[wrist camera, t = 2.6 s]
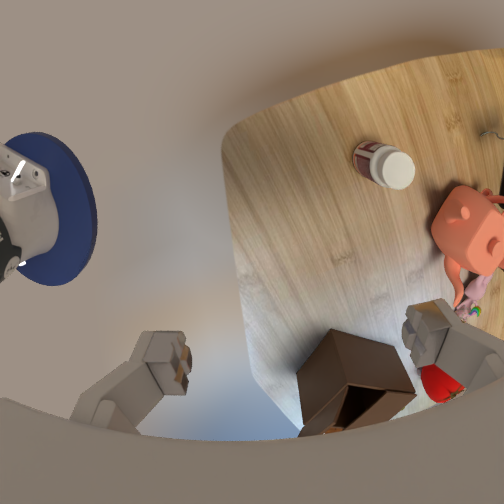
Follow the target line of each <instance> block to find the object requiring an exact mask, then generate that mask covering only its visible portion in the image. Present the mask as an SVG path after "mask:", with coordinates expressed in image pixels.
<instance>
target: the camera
mask: <svg viewBox="0 0 504 504" xmlns="http://www.w3.org/2000/svg"><path fill="white" fill-rule="evenodd" d="M499 195H500V196H504V168H503V175H502V182H501V188H500V193H499ZM498 204H499V205H500V207H501V208H503V209H504V203H498Z"/></svg>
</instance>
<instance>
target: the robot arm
mask: <svg viewBox="0 0 504 504" xmlns="http://www.w3.org/2000/svg"><path fill="white" fill-rule="evenodd" d="M37 172H38V174H37ZM58 231H59V218H58V212H57V207H56V204H55V201H54V198H53V196H52V193H51V189H50V176H49V172H48V170H47V169H46V168H45V167H43V166H41V165H39V164H38V163H36V162H34V161H32V160H30V159H29V158H27V157H25V156H23V155H22V154H20V153H18V152H16V151H15V150H13V149H11V148H9V147H7V146H6V145H4V144H2V143H0V283H1V282H2V281H3V280H4V279H5V278H7V277H8V276H9V275H11V274H12V272H13V271H14V270H15V269H16V268H17V267H18V266H19V265H24V264H25V263H26V262H25V261H26V260H28V259H30V258H32V257H34V256H36V255H39V254H43V253H46V252H48V251H49V250H50V249H51V248H52V247H53V246H54V244H55V242H56V239H57V236H58ZM405 315H406V316H407V318H408V319H407V320H406V321H405V322H404V323H403V327H402V339H403V343H404V345H405V347H406V348H408V349H409V350H411V354H410V357H411V359H412V361H413V363H414V365H415V367H416V368H419V367H423V366H427V365H431V364H435V365H436V366H438V367H439V368H440V369H442V370H443V371H444V372H445V373H447V374H448V375H449V376H451V377H452V378H453V379H455V380H456V381H457V382H459V383H460V384H461V385H463V386H464V387H465V388H467V390H466V391H465V393H464V394H463V396H461V397H458V398H456V399H453V400H451V401H449V402H446V403H443V404H440V405H438V406H435V407H432V408H429V409H426V410H423V411H420V412H417V413H414V414H411V415H407V416H404V417H400V418H397V419H393V420H390V421H386V422H382V423H378V424H374V425H369V426H365V427H360V428H355V429H350V430H345V431H340V432H334V433H328V434H321V435H314V436H306V437H298V438H289V439H276V440H259V441H199V440H184V439H172V438H162V437H153V436H146V435H141V434H140V432H138V430H137V429H136V428H135V427H136V426H137V425H138V424H139V423H140V422H141V421H142V420H143V419H144V418H145V417H146V416H147V414H148V413H149V412H150V411H151V410H152V409H153V408H154V407H155V406H156V405H157V403H158V402H159V401H160V400H161V399H162V398H163V397H164V395H186V392H187V387H188V383H189V381H188V379H187V375H188V374H189V373H190V372H191V369H192V355H191V351H190V348H189V347H188V346H186V345H185V341H186V337H185V335H184V333H183V332H182V331H143V332H142V333H141V335H140V337H139V339H138V342H137V344H136V346H135V348H134V351H133V353H132V355H131V357H130V360H129V362H124V363H123V364H121V365H120V366H119V367H117V368H116V369H114V370H113V371H112V372H111V373H109V374H108V375H106V376H105V377H104V378H103V379H101V380H100V381H98V382H97V383H96V384H94V385H93V386H92V387H90V388H89V389H88V390H86V391H85V392H84V393H82V394H81V395H80V398H79V399H78V402H77V404H76V406H75V408H74V410H73V413H72V415H71V417H70V419H69V420H68V419H64V418H61V417H58V416H55V415H52V414H48V413H45V412H42V411H40V410H37V409H34V408H31V407H28V406H26V405H23V404H20V403H18V402H16V401H13V400H11V399H8V398H0V504H504V341H503V340H501V339H499V338H497V337H495V336H493V335H491V334H488V333H486V332H484V331H482V330H480V329H478V328H476V327H474V326H472V325H470V324H468V323H462V321H461V320H460V319H459V317H458V316H457V315H456V314H455V312H454V311H453V310H452V308H451V307H450V306H449V305H448V303H447V302H446V301H445V300H444V299H442V298H440V299H436V300H432V301H429V302H424V303H419V304H415V305H410V306H408V308H407V310H406V314H405Z"/></svg>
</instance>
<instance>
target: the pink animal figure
mask: <svg viewBox="0 0 504 504" xmlns="http://www.w3.org/2000/svg"><path fill="white" fill-rule="evenodd" d="M493 273H494V272H493ZM493 273H492V275H490V276H488V277H487V276H482V275H479V276H478V277H477V279H474V280H472V281H471V282H470V283H469V285H468V286H467V287H466V289H465V291H464V292H465V295H466V296H467V297H468V298H467V299H466V300H464V301H463V302H462V303H461V304H460V305H458V306H457V307H456V309H457V310H456V311H455V314H456V315H457V316H458V317H459V319H460V320H461V319H463V320H464V321H462V320H461V321H462V323H465V322H466V319H467V318H468V317H470V316H472V315H475V314H476V313H477V317H478V316H479V315H480V313H481V308H480V307H479V306H478V304H477V302H476V300H479V299H481V298H482V297H483V295H484V294H485V291H486V287H487V284H488V283H489V281H490V280H491V278H492V276H493ZM472 303H474V304H475V307H474V308H473V309H472V310H471V305H472Z"/></svg>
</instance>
